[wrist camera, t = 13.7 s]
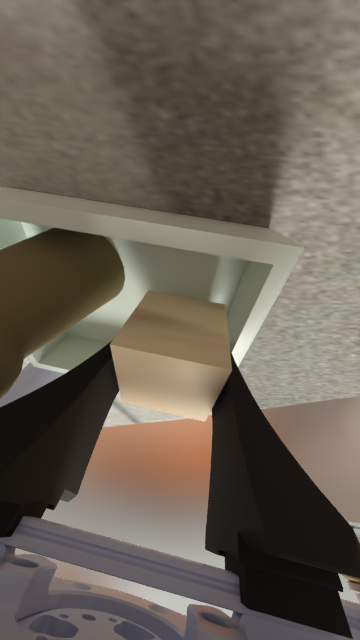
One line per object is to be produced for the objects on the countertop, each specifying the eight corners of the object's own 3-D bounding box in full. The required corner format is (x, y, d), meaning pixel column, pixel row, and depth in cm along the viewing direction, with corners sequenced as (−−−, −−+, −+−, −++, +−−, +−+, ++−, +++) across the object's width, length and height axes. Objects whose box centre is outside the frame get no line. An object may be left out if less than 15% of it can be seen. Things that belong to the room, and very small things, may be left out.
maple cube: (207, 355, 13) (204, 421, 9) (148, 343, 14) (121, 402, 10) (224, 304, 10) (232, 370, 6) (148, 289, 11) (109, 344, 7)
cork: (92, 206, 10) (-632, 260, 1) (138, 290, 13) (-2, 467, 5) (32, 240, 12) (-418, 348, 3) (85, 306, 15) (-84, 450, 7)
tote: (214, 362, 19) (215, 407, 15) (69, 332, 19) (33, 366, 16) (269, 228, 10) (304, 247, 6) (10, 187, 11) (-101, 182, 7)
